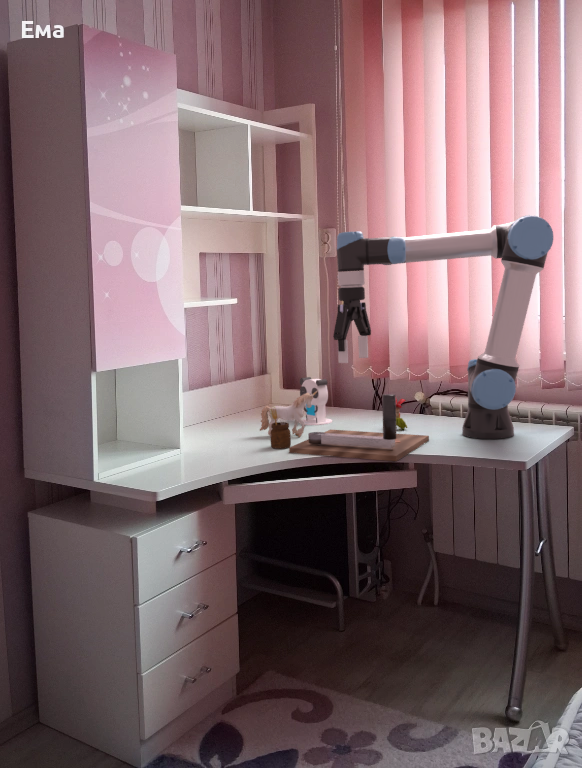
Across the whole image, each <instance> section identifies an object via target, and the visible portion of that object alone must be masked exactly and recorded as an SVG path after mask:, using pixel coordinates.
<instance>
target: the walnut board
mask: <svg viewBox="0 0 582 768" xmlns="http://www.w3.org/2000/svg"><path fill="white" fill-rule="evenodd" d="M324 433H333V434H348V435H363V436H379V437H383V432H376V431H360V430H346V429H345V430H344V429H329V430H326V431H324ZM427 441H428V442H430V436H429V435H422V434H409V433H408V434H407V433H396V439H395V447H394V448H392V449H388V448H374V447H360V446H346V445H333V444H310V443H309V438H308V439H305V440H303V441H301V442H299V443H297V444H294V445H291V446H290V447H289V448H288V453H289V454H298V455H299V454H300V455H314V456H323V457H337V458H338V457H339V458H347V459H348V458H350V459H365V460H377V461H389V462H398V461H399V460H401V459H402V458H404V457H405V456H407V455H409V454H410V453H412V452H414V451H415V450H417V449H418V448H420V447H422V446H424V443H425V444H426V443H428V442H427Z"/></svg>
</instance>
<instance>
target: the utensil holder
mask: <svg viewBox="0 0 582 768" xmlns="http://www.w3.org/2000/svg"><path fill="white" fill-rule="evenodd" d="M283 410H284V409H283ZM271 411H272V417H273V419H275V423H272V425H271V428H272V430H271V433H270V436H269V437H270V447H271V448H272V449H275V450H283V449H289V447H292V445H291V444H292V442H291V441H292V438H291V429H290V424H289V422H287V421H284V420H283V417H282V419H279V420H280V421H278V420H277V421H276V419H277V413H276V409H275V411H274V408H273V410H272V408H271ZM286 411H287V410H286ZM273 412H274V415H273ZM280 413H281V412H280ZM275 414H276V415H275ZM284 414H285V410H284ZM281 415H282V413H281ZM285 418H286V416H285ZM286 419H287V418H286Z"/></svg>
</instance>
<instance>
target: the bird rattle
mask: <svg viewBox="0 0 582 768" xmlns="http://www.w3.org/2000/svg"><path fill="white" fill-rule="evenodd" d="M405 402H406V399H404V398H400V399H399V400H398V399H397V397H396V427H398V428H400V429H401V430H404V429H408V426H407V423H406V421H405V420H404V419H403V418H402V417H401V413H400V410H401V409H402V408H403V407H402V404H403V403H405Z"/></svg>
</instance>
